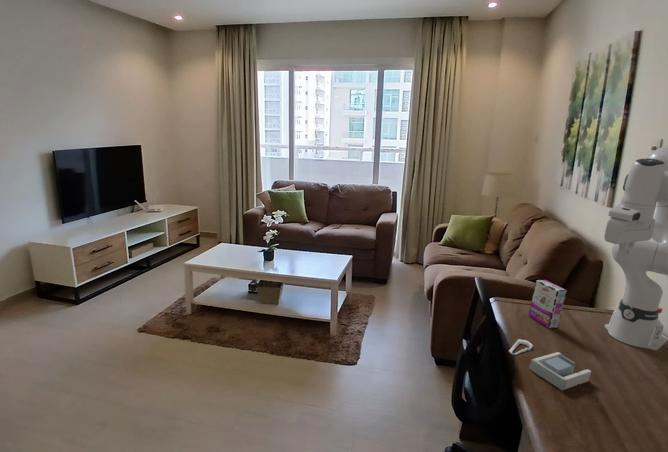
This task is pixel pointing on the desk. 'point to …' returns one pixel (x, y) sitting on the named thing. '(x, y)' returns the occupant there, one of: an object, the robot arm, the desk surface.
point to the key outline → (520, 343)
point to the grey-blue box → (560, 365)
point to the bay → (555, 377)
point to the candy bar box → (547, 303)
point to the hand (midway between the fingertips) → (623, 254)
